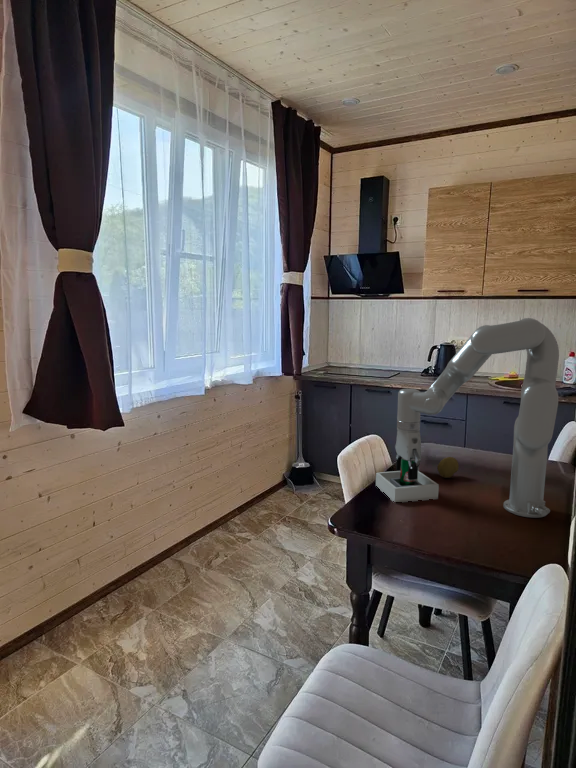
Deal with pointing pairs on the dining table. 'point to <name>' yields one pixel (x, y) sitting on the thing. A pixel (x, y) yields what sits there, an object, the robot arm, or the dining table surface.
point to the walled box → (406, 487)
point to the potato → (448, 467)
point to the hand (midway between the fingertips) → (406, 474)
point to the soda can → (405, 473)
